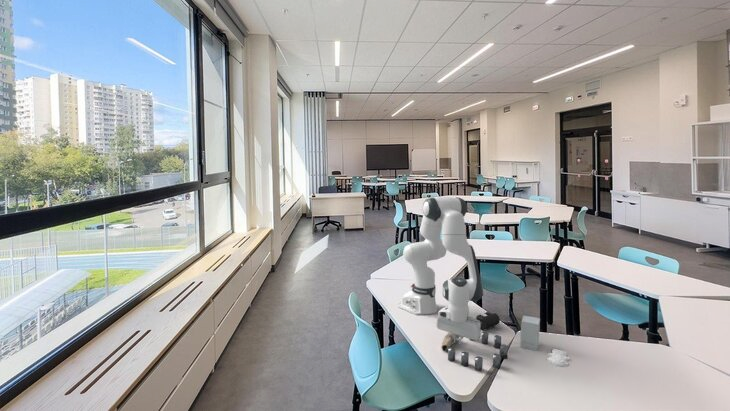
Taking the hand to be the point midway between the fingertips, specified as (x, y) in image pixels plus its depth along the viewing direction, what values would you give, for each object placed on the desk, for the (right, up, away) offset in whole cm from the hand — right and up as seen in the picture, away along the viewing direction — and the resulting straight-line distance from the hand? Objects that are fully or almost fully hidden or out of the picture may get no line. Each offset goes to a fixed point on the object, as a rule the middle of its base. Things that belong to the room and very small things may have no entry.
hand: (457, 342), depth 174 cm
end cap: (+19, +1, +19) cm, 27 cm away
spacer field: (+9, -3, -7) cm, 12 cm away
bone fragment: (-3, -2, +2) cm, 4 cm away
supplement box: (+33, -2, +1) cm, 33 cm away
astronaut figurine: (+41, -4, -10) cm, 42 cm away
